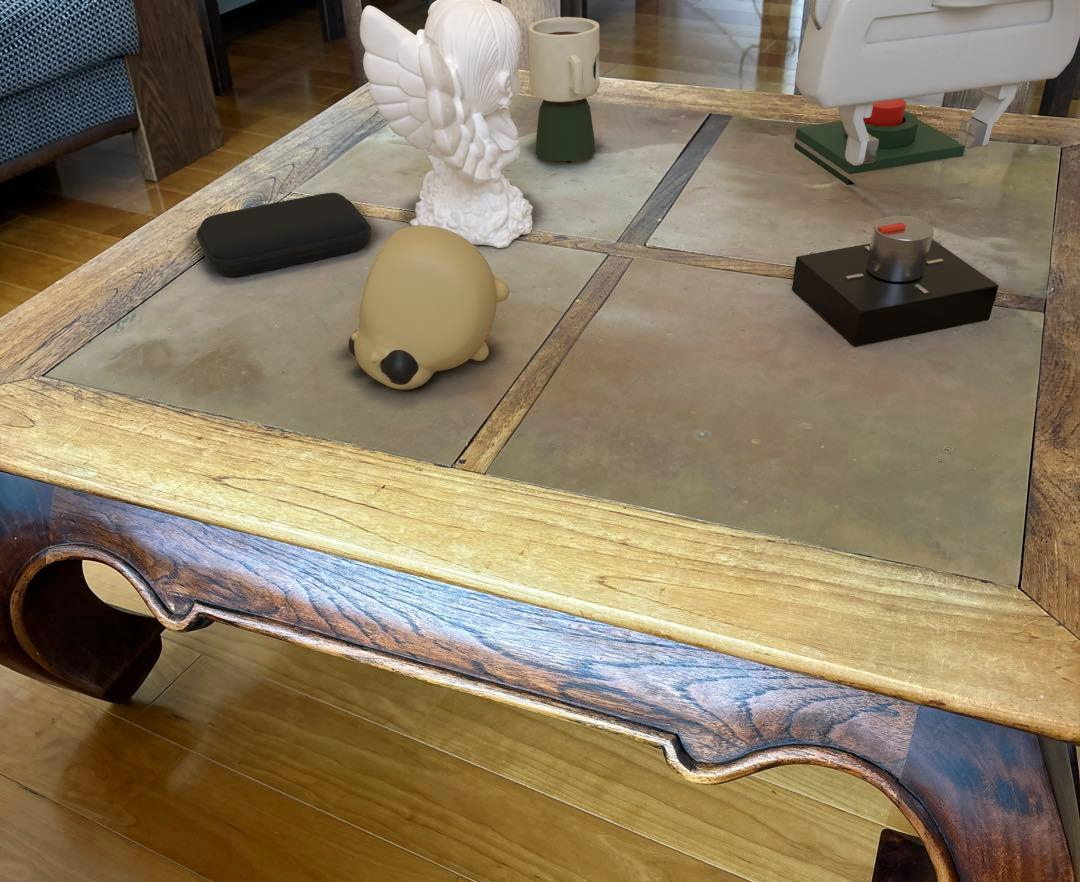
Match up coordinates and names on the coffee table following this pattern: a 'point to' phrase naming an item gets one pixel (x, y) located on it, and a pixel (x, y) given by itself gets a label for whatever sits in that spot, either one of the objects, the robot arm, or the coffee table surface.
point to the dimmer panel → (892, 294)
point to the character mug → (564, 85)
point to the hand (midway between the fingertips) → (916, 153)
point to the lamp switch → (893, 150)
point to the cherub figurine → (454, 111)
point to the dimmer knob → (899, 248)
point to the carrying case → (282, 234)
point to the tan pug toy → (425, 307)
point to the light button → (887, 113)
